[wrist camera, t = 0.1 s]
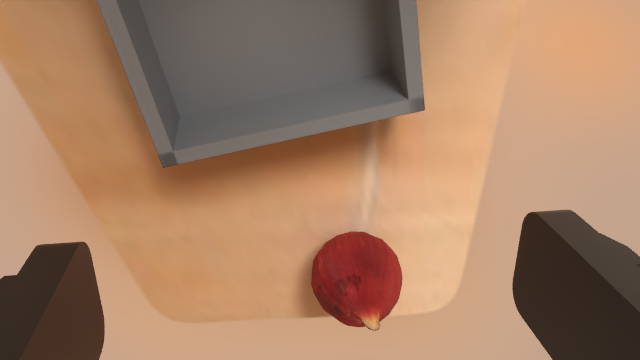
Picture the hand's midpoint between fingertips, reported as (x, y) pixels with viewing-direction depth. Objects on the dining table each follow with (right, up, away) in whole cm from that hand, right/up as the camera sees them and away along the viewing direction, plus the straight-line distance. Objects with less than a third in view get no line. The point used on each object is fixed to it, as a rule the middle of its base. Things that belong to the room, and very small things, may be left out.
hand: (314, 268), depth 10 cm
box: (-3, +11, +19) cm, 22 cm away
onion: (+2, -3, +29) cm, 29 cm away
